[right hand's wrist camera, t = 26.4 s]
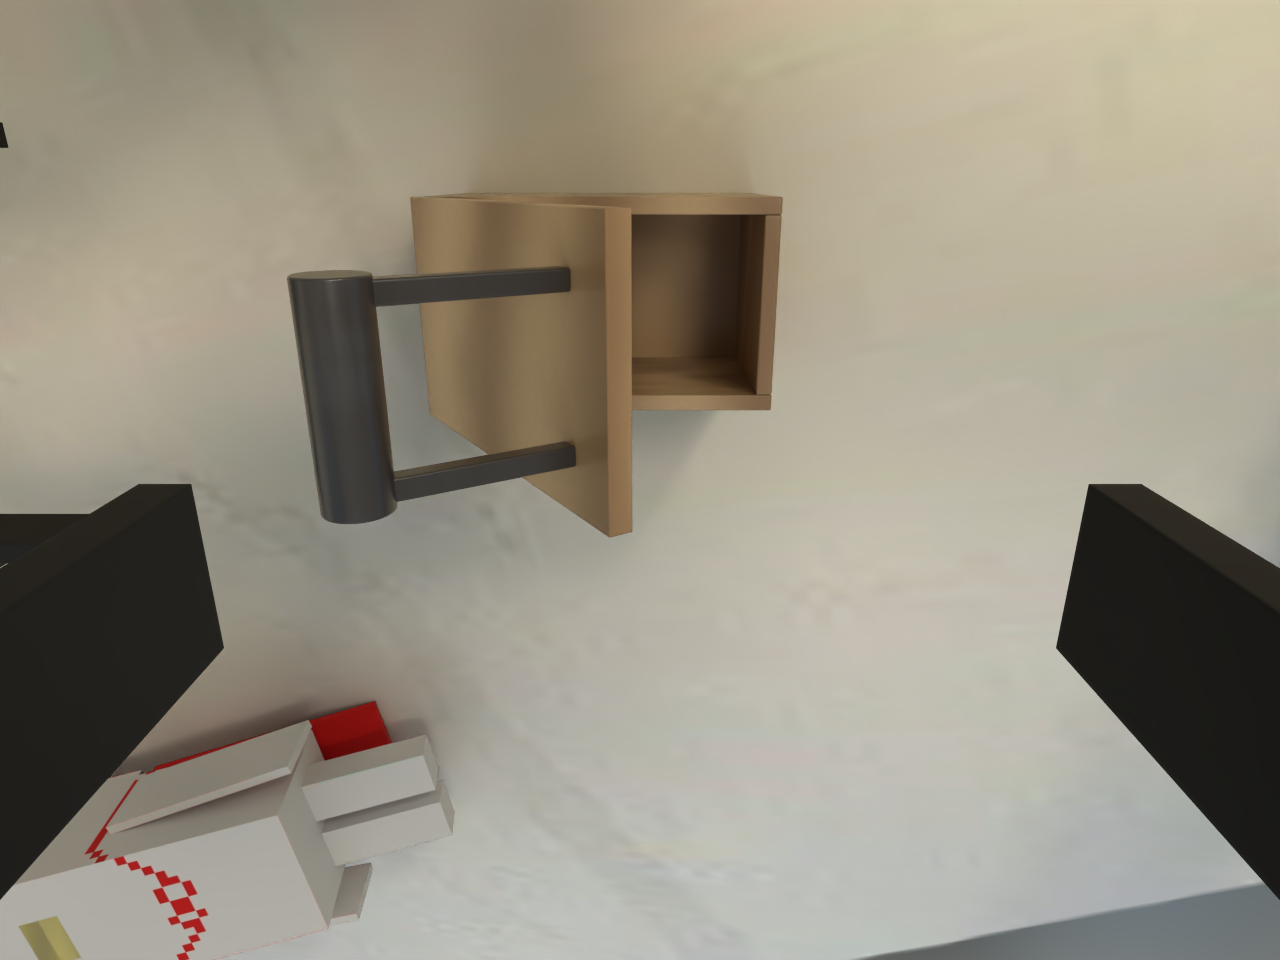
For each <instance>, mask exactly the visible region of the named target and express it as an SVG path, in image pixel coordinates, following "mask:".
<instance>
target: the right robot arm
mask: <svg viewBox="0 0 1280 960" xmlns="http://www.w3.org/2000/svg"><path fill="white" fill-rule="evenodd" d="M223 648H224V646H223V641H222V636H221V631H220V626H219V621H218V616H217V611H216V606H215V601H214V596H213V591H212V586H211V581H210V576H209V571H208V566H207V561H206V556H205V551H204V546H203V541H202V536H201V531H200V526H199V521H198V516H197V511H196V506H195V501H194V496H193V491H192V486H191V484H138V485H137V486H135V487H133V488H132V489H130V490H128V491H127V492H125V493H123V494H122V495H120V496H118V497H117V498H115V499H114V500H112V501H110V502H109V503H107V504H105V505H104V506H102V507H100V508H99V509H97V510H95V511H94V512H92V513H91V514H89V515H87V516H86V517H84V518H82V519H81V520H79V521H77V522H76V523H74V524H72V525H71V526H69V527H67V528H66V529H64V530H63V531H61V532H59V533H58V534H56V535H54V536H53V537H51V538H49V539H48V540H46V541H44V542H43V543H41V544H40V545H38V546H36V547H35V548H33V549H31V550H30V551H28V552H26V553H25V554H23V555H21V556H20V557H18V558H17V559H15V560H13V561H12V562H10V563H8V564H7V565H5V566H3V567H2V568H0V900H1V899H2V897H3V896H4V895H5V894H6V893H7V892H8V891H9V890H10V888H11V887H12V886H13V885H14V884H15V883H16V882H17V881H18V879H19V878H20V877H21V876H22V875H23V874H24V873H25V872H26V870H27V869H28V868H29V867H30V866H31V865H32V864H33V863H34V861H35V860H36V859H37V858H38V857H39V856H40V855H41V854H42V852H43V851H44V850H45V849H46V848H47V847H48V846H49V845H50V843H51V842H52V841H53V840H54V839H55V838H56V837H57V836H58V834H59V833H60V832H61V831H62V830H63V829H64V828H65V826H66V825H67V824H68V823H69V822H70V821H71V820H72V819H73V817H74V816H75V815H76V814H77V813H78V812H79V811H80V810H81V808H82V807H83V806H84V805H85V804H86V803H87V802H88V801H89V799H90V798H91V797H92V796H93V795H94V794H95V793H96V792H97V790H98V789H99V788H100V787H101V786H102V785H103V784H104V783H105V781H106V780H107V779H108V778H109V777H110V776H111V775H112V774H113V772H114V771H115V770H116V769H117V768H118V767H119V766H120V765H121V763H122V762H123V761H124V760H125V759H126V758H127V757H128V756H129V754H130V753H131V752H132V751H133V750H134V749H135V748H136V747H137V745H138V744H139V743H140V742H141V741H142V740H143V739H144V737H145V736H146V735H147V734H148V733H149V732H150V731H151V730H152V728H153V727H154V726H155V725H156V724H157V723H158V722H159V721H160V719H161V718H162V717H163V716H164V715H165V714H166V713H167V712H168V710H169V709H170V708H171V707H172V706H173V705H174V704H175V703H176V701H177V700H178V699H179V698H180V697H181V696H182V695H183V694H184V692H185V691H186V690H187V689H188V688H189V687H190V686H191V685H192V683H193V682H194V681H195V680H196V679H197V678H198V677H199V676H200V674H201V673H202V672H203V671H204V670H205V669H206V668H207V667H208V665H209V664H210V663H211V662H212V661H213V660H214V659H215V657H216V656H217V655H218V654H219V653H220V652H221V651H222V650H223ZM1056 648H1057V650H1058V651H1059V652H1060V653H1061V654H1062V655H1063V656H1064V657H1065V659H1066V660H1067V661H1068V662H1069V663H1070V664H1071V665H1072V667H1073V668H1074V669H1075V670H1076V671H1077V672H1078V673H1079V674H1080V676H1081V677H1082V678H1083V679H1084V680H1085V681H1086V682H1087V683H1088V685H1089V686H1090V687H1091V688H1092V689H1093V690H1094V691H1095V692H1096V694H1097V695H1098V696H1099V697H1100V698H1101V699H1102V700H1103V701H1104V703H1105V704H1106V705H1107V706H1108V707H1109V708H1110V709H1111V710H1112V712H1113V713H1114V714H1115V715H1116V716H1117V717H1118V718H1119V719H1120V721H1121V722H1122V723H1123V724H1124V725H1125V726H1126V727H1127V728H1128V730H1129V731H1130V732H1131V733H1132V734H1133V735H1134V736H1135V737H1136V739H1137V740H1138V741H1139V742H1140V743H1141V744H1142V745H1143V747H1144V748H1145V749H1146V750H1147V751H1148V752H1149V753H1150V754H1151V756H1152V757H1153V758H1154V759H1155V760H1156V761H1157V762H1158V763H1159V765H1160V766H1161V767H1162V768H1163V769H1164V770H1165V771H1166V772H1167V774H1168V775H1169V776H1170V777H1171V778H1172V779H1173V780H1174V781H1175V783H1176V784H1177V785H1178V786H1179V787H1180V788H1181V789H1182V790H1183V792H1184V793H1185V794H1186V795H1187V796H1188V797H1189V798H1190V799H1191V801H1192V802H1193V803H1194V804H1195V805H1196V806H1197V807H1198V808H1199V810H1200V811H1201V812H1202V813H1203V814H1204V815H1205V816H1206V817H1207V819H1208V820H1209V821H1210V822H1211V823H1212V824H1213V825H1214V826H1215V828H1216V829H1217V830H1218V831H1219V832H1220V833H1221V834H1222V836H1223V837H1224V838H1225V839H1226V840H1227V841H1228V842H1229V843H1230V845H1231V846H1232V847H1233V848H1234V849H1235V850H1236V851H1237V852H1238V854H1239V855H1240V856H1241V857H1242V858H1243V859H1244V860H1245V861H1246V863H1247V864H1248V865H1249V866H1250V867H1251V868H1252V869H1253V870H1254V872H1255V873H1256V874H1257V875H1258V876H1259V877H1260V878H1261V879H1262V881H1263V882H1264V883H1265V884H1266V885H1267V886H1268V887H1269V888H1270V890H1271V891H1272V892H1273V893H1274V894H1275V895H1276V896H1277V897H1278V899H1279V900H1280V568H1278V567H1277V566H1275V565H1273V564H1272V563H1270V562H1268V561H1267V560H1265V559H1263V558H1262V557H1260V556H1259V555H1257V554H1255V553H1254V552H1252V551H1250V550H1249V549H1247V548H1245V547H1244V546H1242V545H1240V544H1239V543H1237V542H1236V541H1234V540H1232V539H1231V538H1229V537H1227V536H1226V535H1224V534H1222V533H1221V532H1219V531H1217V530H1216V529H1214V528H1213V527H1211V526H1209V525H1208V524H1206V523H1204V522H1203V521H1201V520H1199V519H1198V518H1196V517H1194V516H1193V515H1191V514H1189V513H1188V512H1186V511H1185V510H1183V509H1181V508H1180V507H1178V506H1176V505H1175V504H1173V503H1171V502H1170V501H1168V500H1166V499H1165V498H1163V497H1162V496H1160V495H1158V494H1157V493H1155V492H1153V491H1152V490H1150V489H1148V488H1147V487H1145V486H1143V485H1142V484H1089V486H1088V491H1087V496H1086V501H1085V506H1084V511H1083V516H1082V521H1081V526H1080V531H1079V536H1078V541H1077V546H1076V551H1075V556H1074V561H1073V566H1072V571H1071V576H1070V581H1069V586H1068V591H1067V596H1066V601H1065V606H1064V611H1063V616H1062V621H1061V626H1060V631H1059V636H1058V641H1057V646H1056Z"/></svg>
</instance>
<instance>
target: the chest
mask: <svg viewBox="0 0 1280 960" xmlns="http://www.w3.org/2000/svg"><path fill="white" fill-rule="evenodd" d="M427 197H440V198H459V199H478V200H496V201H515V202H534V203H553V204H571V205H590V206H609V207H628V208H631V277H632V410H770V409H771V395H770V394H771V391H772V374H773V356H774V339H775V321H776V303H777V286H778V268H779V251H780V233H781V214H782V200H783V198H782V197H777V196H769V195H761V194H753V193H463V194H451V195H439V196H427Z"/></svg>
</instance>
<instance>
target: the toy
mask: <svg viewBox="0 0 1280 960" xmlns="http://www.w3.org/2000/svg"><path fill="white" fill-rule="evenodd" d="M438 770H439V767H438V764H437V762H436V759H435V756H434V753H433V750H432V748H431V745H430V742H429V739H428V736H427V734H425V735H421V736H418V737H414V738H410V739H406V740H402V741H398V742H395V743H392V742H391V740H390V737H389V735H388V732H387V730H386V727H385V725H384V723H383V720H382V718H381V715H380V713H379V710H378V708H377V705H376V703H375V701H374V702H371V703H368V704H364V705H361V706H358V707H354V708H351V709H347V710H344V711H341V712H337V713H334V714H331V715H327V716H324V717H320V718H317V719H314V720H310V721H309V720H306V721H303V722H300V723H297V724H294V725H291V726H289V727H286V728H283V729H280V730H277V731H273V732H270V733H266V734H263V735H260V736H256V737H253V738H250V739H246V740H243V741H240V742H236V743H233V744H229V745H226V746H223V747H219V748H216V749H213V750H209V751H206V752H202V753H199V754H196V755H192V756H189V757H186V758H182V759H179V760H175V761H172V762H169V763H165V764H162V765H159V766H156V767H155V768H154V770H153V771H152V772H148V773H144V772H143V770H139V771H135V772H131V773H127V774H124V775H120V776H116V777H112V778H108V779H107V780H106V781H105V783H104V784H103V785H102V786H101V787H100V788H99V789H98V790H97V792H96V793H95V794H94V795H93V796H92V797H91V798H90V799H89V801H88V802H87V803H86V804H85V805H84V806H83V807H82V808H81V810H80V811H79V812H78V813H77V814H76V815H75V816H74V817H73V819H72V820H71V821H70V822H69V823H68V824H67V825H66V826H65V828H64V829H63V830H62V831H61V832H60V833H59V834H58V836H57V837H56V838H55V839H54V840H53V841H52V842H51V843H50V845H49V846H48V847H47V848H46V849H45V850H44V851H43V852H42V854H41V855H40V856H39V857H38V858H37V859H36V860H35V861H34V863H33V864H32V865H31V866H30V867H29V868H28V869H27V870H26V872H25V873H24V874H23V875H22V876H21V877H20V878H19V879H18V881H17V882H16V883H15V884H14V885H13V886H12V887H11V888H10V890H9V891H8V892H7V893H6V894H5V895H4V896H3V897H2V899H1V900H0V960H215V959H219V958H223V957H226V956H230V955H233V954H237V953H241V952H244V951H248V950H252V949H255V948H259V947H263V946H266V945H270V944H274V943H277V942H281V941H284V940H288V939H292V938H295V937H299V936H303V935H306V934H310V933H314V932H317V931H321V930H325V929H328V928H329V926H332V925H337V924H342V923H348V922H353V921H358V920H359V918H360V914H361V911H362V907H363V903H364V900H365V896H366V892H367V889H368V885H369V881H370V878H371V874H372V870H373V868H372V864H371V863H366V864H361V865H355V866H350V867H345V865H346V864H347V863H351V862H355V861H358V860H362V859H366V858H369V857H373V856H377V855H381V854H384V853H388V852H392V851H395V850H399V849H403V848H406V847H410V846H414V845H418V844H421V843H425V842H429V841H432V840H436V839H440V838H444V837H447V836H451V835H452V830H453V821H454V813H455V812H454V809H453V806H452V804H451V801H450V798H449V795H448V792H447V790H446V787H445V784H444V781H443V780H440V781H437V776H438Z"/></svg>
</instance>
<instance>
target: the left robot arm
mask: <svg viewBox="0 0 1280 960" xmlns="http://www.w3.org/2000/svg"><path fill="white" fill-rule="evenodd" d="M0 148H8V144H7V140H6V136H5V132H4V128H3V124H2V123H1V122H0ZM87 515H89V514H0V567H1V566H3V565H5V564H6V563H10V562H12V561H13V560H15V559H17V558H18V557H20V556H21V555H23V554H25V553H26V552H28V551H30V550H31V549H33V548H35V547H36V546H38V545H40V544H41V543H43V542H44V541H46V540H48V539H49V538H51V537H53V536H54V535H56V534H58V533H59V532H61V531H63V530H64V529H66V528H67V527H69V526H71V525H72V524H74V523H76V522H77V521H79V520H81V519H82V518H84V517H86V516H87Z"/></svg>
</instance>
